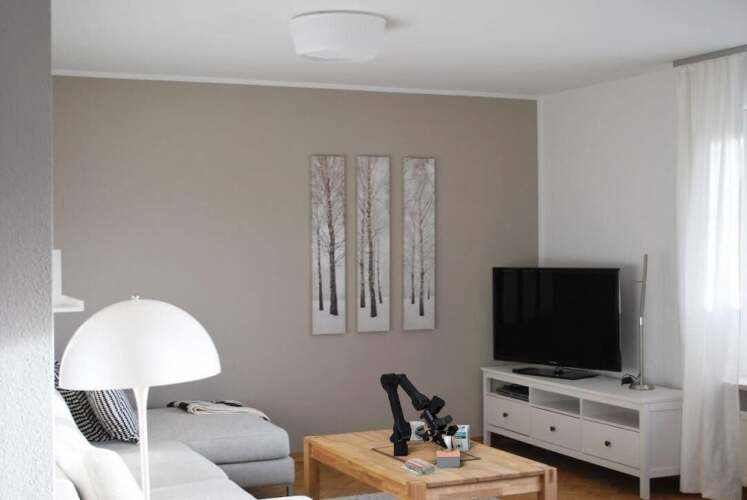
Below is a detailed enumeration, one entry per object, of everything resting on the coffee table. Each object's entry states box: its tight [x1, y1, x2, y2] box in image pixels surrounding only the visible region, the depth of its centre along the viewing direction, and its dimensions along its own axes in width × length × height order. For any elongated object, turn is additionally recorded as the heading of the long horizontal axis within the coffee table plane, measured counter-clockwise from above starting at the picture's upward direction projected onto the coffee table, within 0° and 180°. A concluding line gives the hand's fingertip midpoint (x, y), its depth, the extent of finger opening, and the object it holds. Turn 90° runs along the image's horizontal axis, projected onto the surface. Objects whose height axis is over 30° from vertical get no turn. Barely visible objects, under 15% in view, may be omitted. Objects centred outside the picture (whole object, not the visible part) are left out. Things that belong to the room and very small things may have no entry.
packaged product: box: [401, 457, 439, 477], centre depth 435 cm, size 18×5×10 cm
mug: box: [409, 420, 426, 442], centre depth 506 cm, size 13×10×8 cm
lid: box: [435, 436, 461, 458], centre depth 444 cm, size 10×10×9 cm
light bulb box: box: [453, 424, 471, 452], centre depth 480 cm, size 11×7×11 cm, turn 168°
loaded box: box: [436, 456, 461, 469], centre depth 444 cm, size 10×10×5 cm
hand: (450, 448), depth 443 cm, fingers closed on lid, 3 cm apart
